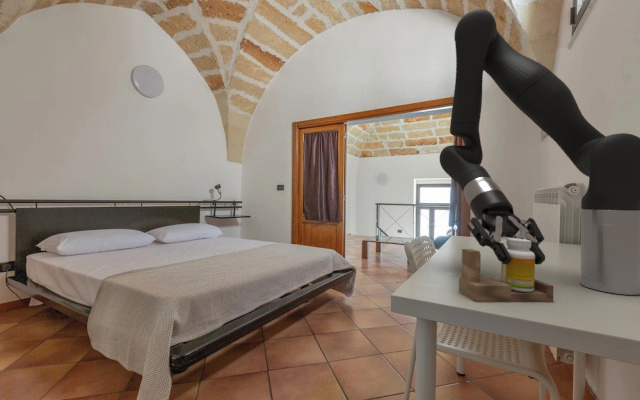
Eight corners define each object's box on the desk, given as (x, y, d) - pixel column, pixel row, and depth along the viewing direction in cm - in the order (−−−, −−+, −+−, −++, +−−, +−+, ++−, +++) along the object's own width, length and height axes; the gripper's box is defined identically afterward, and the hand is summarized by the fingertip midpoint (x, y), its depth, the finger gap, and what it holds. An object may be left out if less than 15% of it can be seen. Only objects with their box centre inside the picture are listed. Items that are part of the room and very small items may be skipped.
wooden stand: (529, 291, 58) (529, 248, 58) (553, 301, 52) (553, 254, 52) (459, 291, 58) (459, 248, 58) (475, 301, 52) (475, 253, 52)
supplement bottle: (541, 293, 52) (543, 242, 52) (512, 292, 53) (514, 240, 53) (521, 284, 58) (522, 238, 58) (495, 283, 58) (496, 237, 58)
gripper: (462, 188, 62) (497, 250, 50) (524, 188, 63) (574, 251, 51) (450, 210, 68) (479, 272, 56) (508, 211, 68) (549, 272, 56)
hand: (524, 261), depth 53 cm, fingers open, 6 cm apart
